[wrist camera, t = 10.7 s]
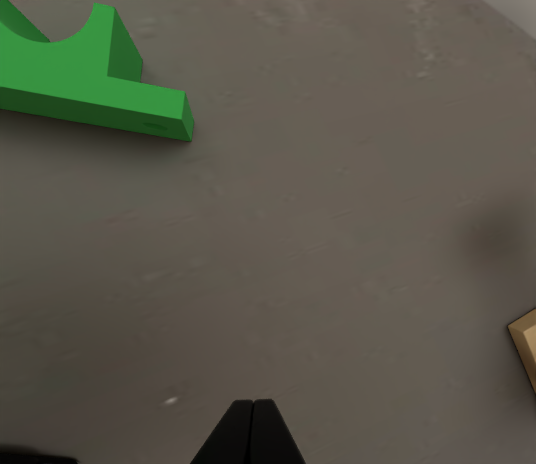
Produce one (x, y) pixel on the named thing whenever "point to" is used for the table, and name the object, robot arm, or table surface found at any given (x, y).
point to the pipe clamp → (86, 77)
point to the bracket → (526, 342)
